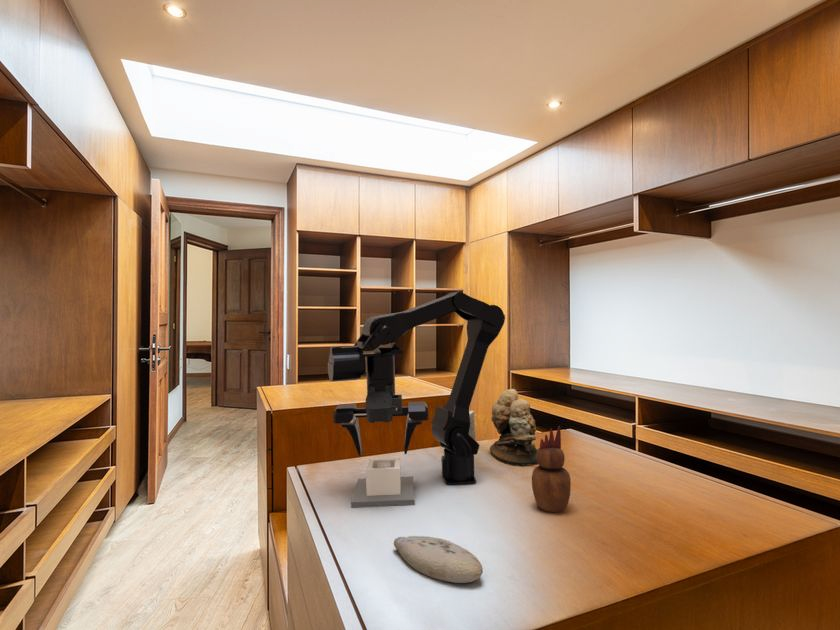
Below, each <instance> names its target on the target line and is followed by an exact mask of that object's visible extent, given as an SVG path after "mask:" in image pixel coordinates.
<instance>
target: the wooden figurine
mask: <svg viewBox="0 0 840 630" xmlns="http://www.w3.org/2000/svg"><path fill="white" fill-rule="evenodd" d="M553 431H554V430H553V428H550V429H549V437H548V434H545V435H544V439H543V438H541V439H540V443H539V447H538V449H537V448H536V449H537V453H536V459H537V463H538V464H537V466H536V467H534V468H533V469H532V472H531V473H532V476H531V487H532V492H533V493H532V494H533V497H534V500H535V502H536V504H537V506H538V507H539V508H540V509H541V510H542V511H546V512H550V513H556V512H557V513H560V512H563V511H564V510H566V509H567V507H568V505H569V501H570V496H571V489H572V488H571V486H572V485H571V484H572V483H571V482H572V481H571V476H570V472H569V471H568V470H567V469H566V468H564V467H563V466H564V464H565V460H566V458H565V452H564V451H563V449H562V437H561V435H562V434H561V426H560V425H558V427H557V430H556V434H555V436H554V432H553Z"/></svg>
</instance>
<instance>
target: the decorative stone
mask: <svg viewBox="0 0 840 630" xmlns="http://www.w3.org/2000/svg"><path fill="white" fill-rule="evenodd" d="M393 546H394V548H395V549H396V550H397V551H398V552H399V553H398V554H400V557H402V558H403V560H405V561H406V563H407V564H408V565H409V566H411V567H412V568H413V569H414V570H416V571H418V572H419V573H421V574H423V575H426V576H427V577H430V578H433V579H435V580H439V581H443V582H448V583H454V584H468V583H471V582H474V581H477V580H478V579H479V578H481V576H482V574H483V572H484V571H483V570H484V568H483V565H482V563H481V562H480V560H479V559H478V557H476V556H475V555H474V554H473V552H471V551H469V550H468V549H466V548H464V547H462V546H460V545H458V544H457V543H454V542H452V541H450V540H447V539H444V538H440V537H439V538H438V537H433V536H423V535H422V536H421V535H419V536H418V535H410V536H407V537H406V536H399V537H397V538H395V539H394V542H393Z"/></svg>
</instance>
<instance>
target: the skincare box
mask: <svg viewBox="0 0 840 630" xmlns="http://www.w3.org/2000/svg"><path fill="white" fill-rule="evenodd" d="M469 414H470V429H469V435H470V436H471V437H472V438H473V439H474V440H475V441H476V426H475V410H469Z"/></svg>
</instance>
